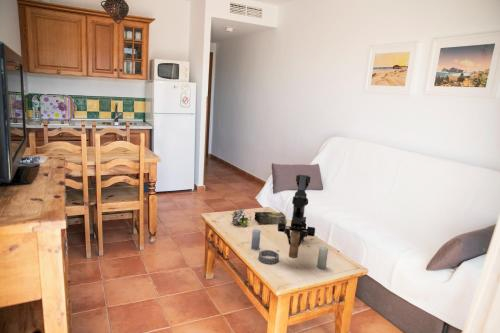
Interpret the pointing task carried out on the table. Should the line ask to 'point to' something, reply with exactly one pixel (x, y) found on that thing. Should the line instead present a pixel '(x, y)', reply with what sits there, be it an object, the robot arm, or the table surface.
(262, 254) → the steel ring
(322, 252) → the grey-green peg
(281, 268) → the table surface
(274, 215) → the dark olive boxy piece
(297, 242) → the walnut peg
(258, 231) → the slate-blue peg
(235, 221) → the green succulent plant
